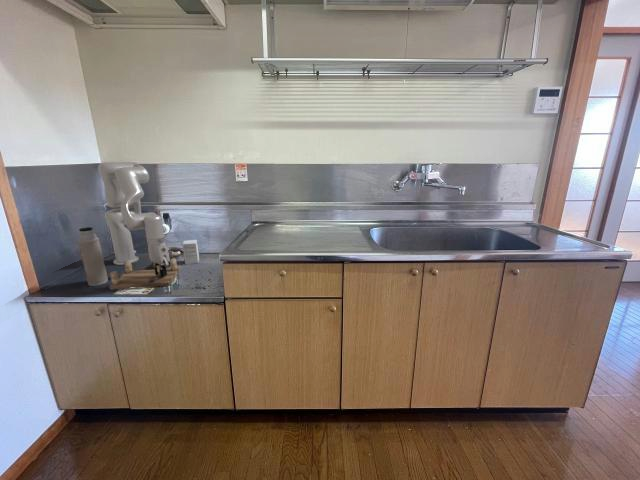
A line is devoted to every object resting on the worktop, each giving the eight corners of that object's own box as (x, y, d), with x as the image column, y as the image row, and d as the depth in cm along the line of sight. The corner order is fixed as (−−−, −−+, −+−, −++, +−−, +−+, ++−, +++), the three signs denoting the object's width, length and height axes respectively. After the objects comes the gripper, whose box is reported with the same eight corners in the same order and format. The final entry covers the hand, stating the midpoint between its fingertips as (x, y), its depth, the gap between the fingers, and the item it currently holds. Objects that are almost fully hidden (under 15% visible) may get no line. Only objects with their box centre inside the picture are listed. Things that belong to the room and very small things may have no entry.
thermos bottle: (85, 286, 137) (71, 230, 129) (91, 280, 144) (78, 226, 136) (105, 284, 139) (92, 229, 131) (110, 278, 147) (98, 225, 139)
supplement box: (186, 260, 172) (183, 240, 169) (199, 259, 174) (197, 239, 171) (184, 264, 166) (181, 244, 162) (198, 263, 168) (195, 242, 164)
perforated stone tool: (159, 269, 158) (157, 258, 156) (150, 269, 159) (148, 257, 157) (176, 260, 172) (175, 249, 170) (168, 259, 173) (167, 249, 171)
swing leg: (152, 282, 137) (150, 270, 135) (147, 281, 138) (145, 270, 136) (167, 275, 145) (165, 264, 143) (162, 274, 146) (160, 263, 144)
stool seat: (127, 274, 151) (124, 260, 149) (179, 271, 155) (177, 257, 153) (110, 289, 134) (106, 274, 132) (169, 285, 138) (166, 270, 136)
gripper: (173, 241, 137) (178, 276, 143) (153, 236, 145) (158, 269, 150) (159, 245, 131) (164, 281, 136) (138, 239, 139) (144, 274, 144)
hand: (161, 274), depth 143 cm, fingers open, 3 cm apart
